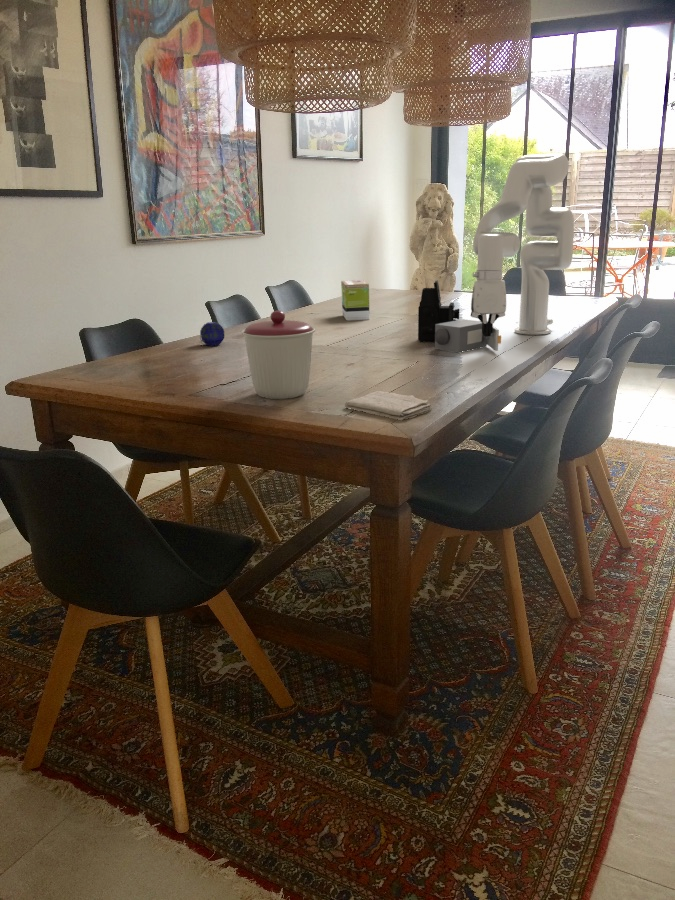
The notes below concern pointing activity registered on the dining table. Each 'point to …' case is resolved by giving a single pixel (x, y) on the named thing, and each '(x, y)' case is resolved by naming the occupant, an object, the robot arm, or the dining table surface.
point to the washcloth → (390, 405)
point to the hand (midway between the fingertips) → (486, 335)
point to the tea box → (355, 300)
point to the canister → (279, 356)
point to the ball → (211, 334)
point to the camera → (433, 313)
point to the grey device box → (459, 335)
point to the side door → (494, 339)
